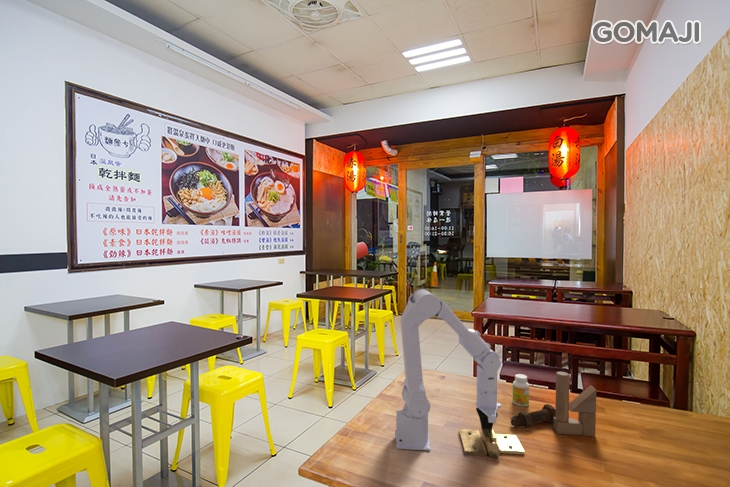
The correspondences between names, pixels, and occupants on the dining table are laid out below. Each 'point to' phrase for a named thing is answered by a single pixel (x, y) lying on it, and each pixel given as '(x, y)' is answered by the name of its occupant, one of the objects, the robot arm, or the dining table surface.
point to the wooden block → (574, 409)
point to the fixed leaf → (478, 444)
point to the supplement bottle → (521, 390)
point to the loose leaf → (504, 442)
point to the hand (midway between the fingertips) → (486, 434)
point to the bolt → (533, 417)
